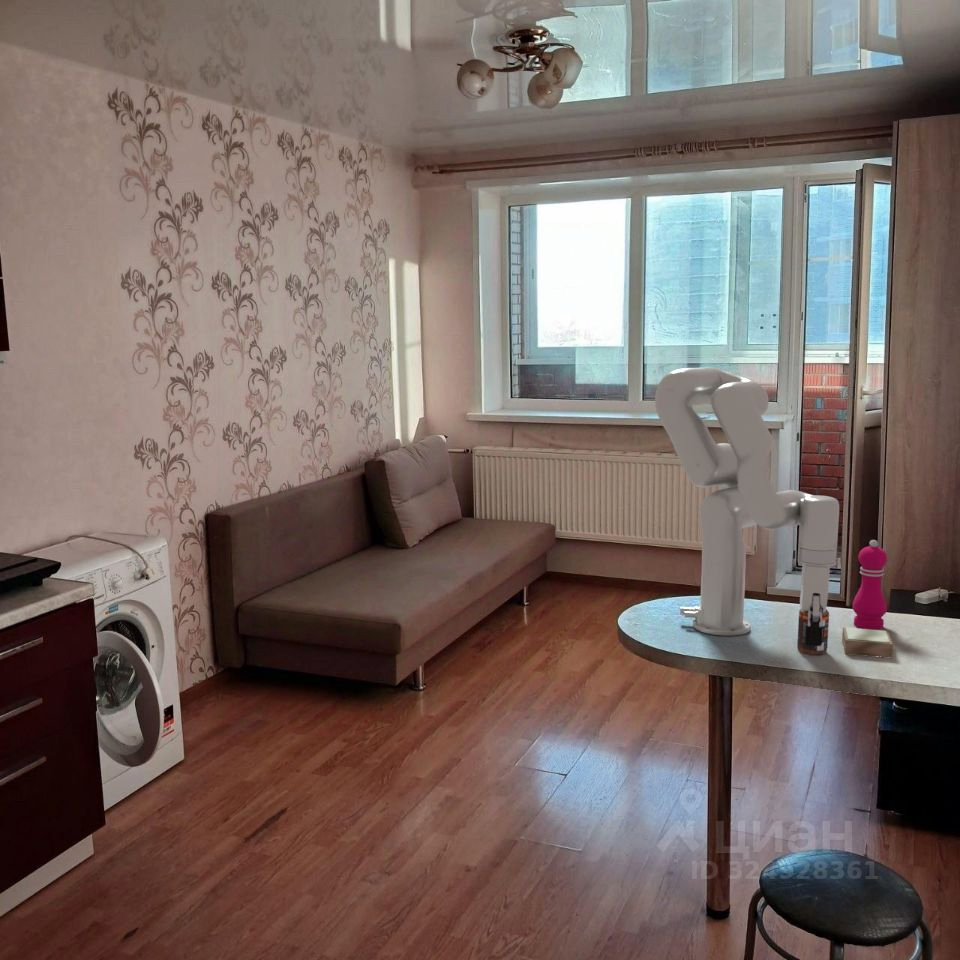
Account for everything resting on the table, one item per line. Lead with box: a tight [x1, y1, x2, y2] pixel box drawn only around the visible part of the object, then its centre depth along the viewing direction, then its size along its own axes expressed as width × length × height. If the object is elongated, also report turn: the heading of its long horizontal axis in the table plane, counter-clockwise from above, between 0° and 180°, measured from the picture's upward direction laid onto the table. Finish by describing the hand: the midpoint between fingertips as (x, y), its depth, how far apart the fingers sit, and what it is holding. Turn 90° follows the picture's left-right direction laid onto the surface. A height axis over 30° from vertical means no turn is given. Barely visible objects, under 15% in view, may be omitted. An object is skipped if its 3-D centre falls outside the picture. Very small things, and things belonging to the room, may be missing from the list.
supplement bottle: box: [796, 599, 830, 656], centre depth 201 cm, size 6×6×11 cm
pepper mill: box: [852, 539, 888, 630], centre depth 218 cm, size 7×7×20 cm
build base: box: [841, 627, 894, 658], centre depth 203 cm, size 9×9×3 cm
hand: (812, 639), depth 202 cm, fingers closed on supplement bottle, 6 cm apart
